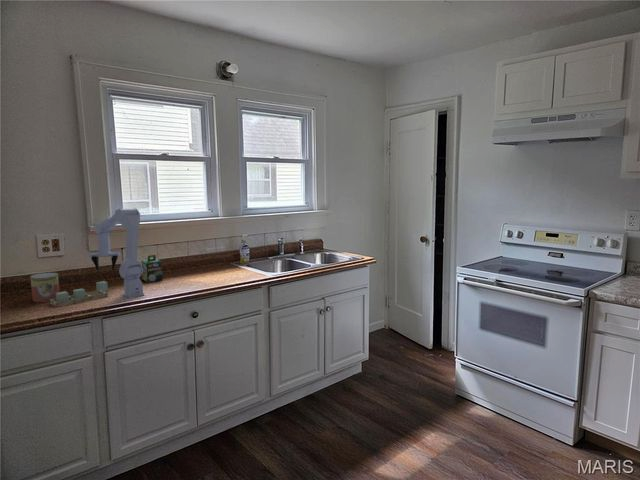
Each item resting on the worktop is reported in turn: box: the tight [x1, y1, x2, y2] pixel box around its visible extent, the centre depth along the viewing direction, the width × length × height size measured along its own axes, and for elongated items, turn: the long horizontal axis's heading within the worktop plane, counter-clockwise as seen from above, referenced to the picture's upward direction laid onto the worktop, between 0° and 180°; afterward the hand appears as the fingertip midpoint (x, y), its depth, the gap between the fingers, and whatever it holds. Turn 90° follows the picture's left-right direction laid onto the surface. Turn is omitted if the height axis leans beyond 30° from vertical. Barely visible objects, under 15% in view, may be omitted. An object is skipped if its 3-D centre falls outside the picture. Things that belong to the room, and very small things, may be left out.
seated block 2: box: [72, 288, 86, 299], centre depth 199 cm, size 4×4×5 cm
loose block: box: [95, 280, 109, 292], centre depth 216 cm, size 4×4×5 cm
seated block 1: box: [56, 290, 70, 302], centre depth 194 cm, size 4×4×5 cm
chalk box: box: [140, 254, 164, 283], centre depth 241 cm, size 9×9×15 cm
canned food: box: [30, 272, 60, 303], centre depth 200 cm, size 11×11×12 cm
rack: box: [49, 290, 109, 308], centre depth 200 cm, size 8×23×2 cm, turn 139°
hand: (105, 269), depth 223 cm, fingers open, 7 cm apart
